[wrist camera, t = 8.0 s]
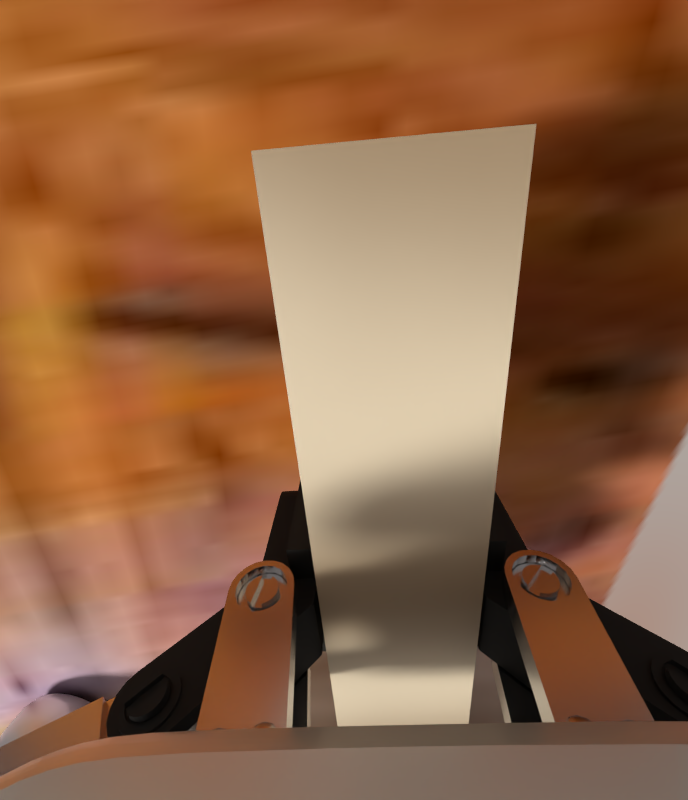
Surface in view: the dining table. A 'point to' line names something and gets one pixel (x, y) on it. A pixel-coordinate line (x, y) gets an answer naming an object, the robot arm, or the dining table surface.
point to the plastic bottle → (41, 714)
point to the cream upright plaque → (398, 402)
